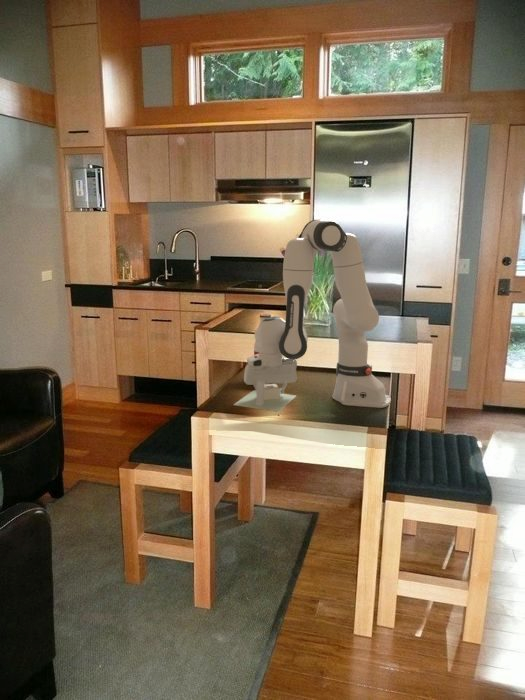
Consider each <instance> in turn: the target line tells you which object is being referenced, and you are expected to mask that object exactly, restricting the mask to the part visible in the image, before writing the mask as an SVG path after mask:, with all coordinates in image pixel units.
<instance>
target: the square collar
mask: <svg viewBox="0 0 525 700" xmlns="http://www.w3.org/2000/svg"><path fill="white" fill-rule="evenodd" d="M280 388H281V387H279V386H278V385H277V383H271V384H267V385H265V386H264V400H270V399H280Z"/></svg>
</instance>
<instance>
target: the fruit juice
mask: <svg viewBox="0 0 525 700" xmlns="http://www.w3.org/2000/svg"><path fill="white" fill-rule="evenodd" d="M268 317H272V314H270V313H260V314H259V319H260V320H259V324H258V326H257V328H256V329H255V331H254V339H255V341H254V344H253V345H254V346H253V356H254V355H256V354H259V350H260V341H259V336H260V326H261V322H262V321H263V320H264V319H266V318H268Z"/></svg>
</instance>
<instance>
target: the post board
mask: <svg viewBox="0 0 525 700" xmlns="http://www.w3.org/2000/svg"><path fill="white" fill-rule="evenodd" d="M264 386H265V381H263V380H258V381H257V395H256V389H254V390H253V389H252V391H250V392H249V393H248V394H246V395H244V396H243V397H242V398H240V399H239V400H238V401H236V402H235V403H234V404H233V406H237V407H242V408H243V407H244V408H245V407H246V408H252V409H257V410H265V411H270V412H276V413H280V412H281V411H282V410H283V409H284V408H285V407H286V406H288V404H290V403H291V402H292V401H293V400H294V399H295V398H296V397H297V395H293V394H288V393H284V394H280V399H270V400H264ZM277 415H278V416H280V414H277ZM278 416H277V417H278Z"/></svg>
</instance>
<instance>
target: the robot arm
mask: <svg viewBox="0 0 525 700" xmlns="http://www.w3.org/2000/svg"><path fill="white" fill-rule="evenodd" d="M319 251H327V252H328V253H330V256H331V259H332V260H331V261H332V267H333V273H334V279H335V287H336V289H337V291H338V292H339V295H340V298H339V299H338V300H337V301H336V302H335V304H334V305H333V308H332V309H333V311H332V312H333V315H334V319H335V323H336V330H337V339H338V360H337V363H336V370H335V371H336V372H335V374H336V381H335V385H334V391H333V393H332V395H331V397H332V399H334V400H335V401H337V402H339V403H340V404H341V405H344V406H351V407H353V406H354V407H364V408H365V407H366V408H379V409H381V408H386V407H388V406H389V405H390V404H391V401H392V398H391V397H390V395H389V394H386V388H385V385H384V383H383V382H382V381H381V380H379V379H378V378H377V377H376V376H375V375H373V365H370V364H368V353H369V352H368V351H369V350H368V348H369V344H368V341H367V339H366V334H365V332H371V331H373V330H374V329H375V328H376V327H377V326H378V324H379V320H380V315H379V312H378V310H377V308H376V307H375V304H374V302H373V299H372V296H371V294H370V290H369V287H368V284H367V281H366V273H365V266H364V260H363V259H364V257H363V254H362V253H363V252H362V248H361V246H360V243H359V240H358V237H357V236H356V235H355V234H353V233H349V232H345V230H344V229H343V227H342V226H341V225H340V224H339V223H338V222H337V221H335V220H332V219H327V218H319V219H313V220H310V221H309V222H308V223H306V224H305V225H304V226H303V229H302V230H301V232H300V233H299V235H298V237H296V238H295V237H294V238H293V239H291V240H289V241H288V242H287V244H286V247H285V252H284V257H283V265H282V266H283V267H282V282H283V283H282V284H283V289H284V294H285V295H284V296H285V303H286V304H285V305H286V308H285V310H286V311H285V319H283V318H282V317H281V316H271V317H268V318H266V319H264V320H263V321H262V322H261V326H260V336H259V341H260V350H259V354H256V355H254V354H253V355H251V356H248V357H247V358H246V363H247V364H246V365H245V366H244V367H245V368H244V371H243V372H244V373H243V382H244V383H245V384H246V385H248V386H249V385H250V386H251V385H253V387H254V390H256V395H257V381H258V380H263V381H265V384H282V386H281V387H279V388H280V394H285V390H286V387H288V383H289V384H290V383H295V382H296V381H297V378H298V377H297V366H298V362H297V360H298V359H300V358H303V356H304V355H306V352H307V349H308V333H307V331H306V330H305V328H304V313H305V305H306V300H307V298H308V295H309V293H310V290H311V287H312V283H313V279H314V278H313V277H314V261H315V257H316V255H317V254H318V252H319ZM284 357H285V358H284Z"/></svg>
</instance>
